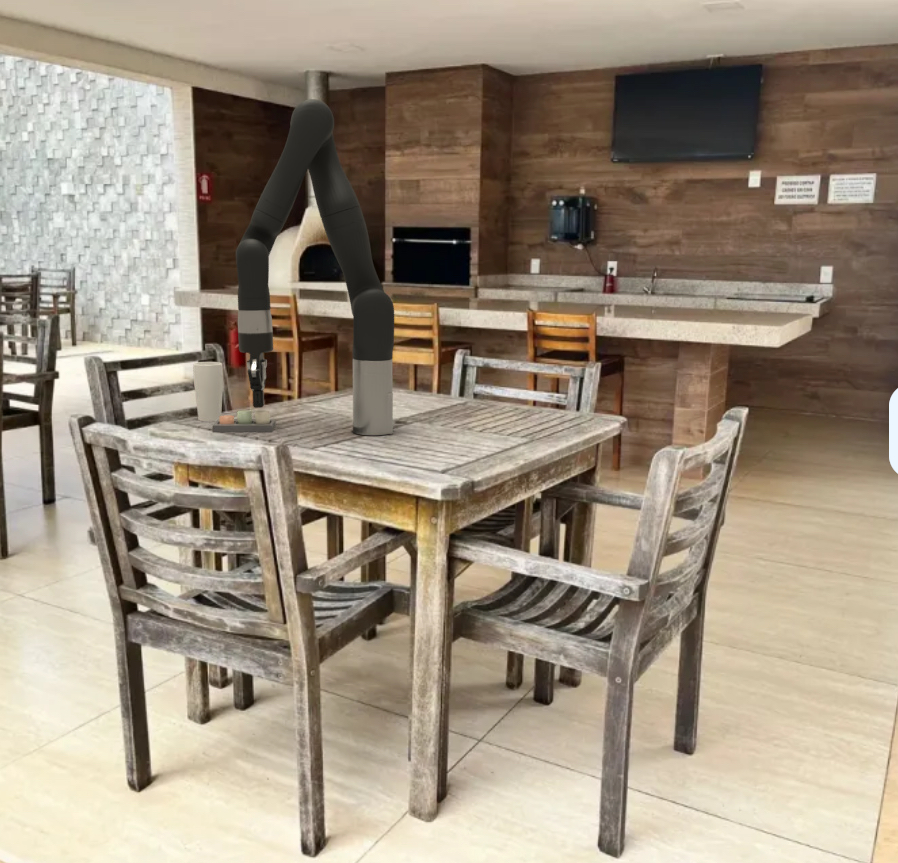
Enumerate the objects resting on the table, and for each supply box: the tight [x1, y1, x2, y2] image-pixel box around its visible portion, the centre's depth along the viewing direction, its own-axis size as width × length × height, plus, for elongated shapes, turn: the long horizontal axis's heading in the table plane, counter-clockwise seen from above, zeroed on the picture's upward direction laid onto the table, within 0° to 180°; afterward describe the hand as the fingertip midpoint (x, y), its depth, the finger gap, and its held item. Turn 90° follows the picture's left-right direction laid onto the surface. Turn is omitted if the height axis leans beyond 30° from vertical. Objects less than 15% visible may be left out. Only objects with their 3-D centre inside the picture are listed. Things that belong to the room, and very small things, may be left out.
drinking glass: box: [192, 361, 224, 422], centre depth 213 cm, size 7×7×15 cm
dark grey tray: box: [212, 418, 276, 433], centre depth 203 cm, size 13×8×3 cm, turn 95°
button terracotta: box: [219, 414, 235, 424], centre depth 203 cm, size 3×3×4 cm
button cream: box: [254, 409, 271, 424], centre depth 203 cm, size 3×3×4 cm
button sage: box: [236, 409, 253, 424], centre depth 203 cm, size 3×3×4 cm
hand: (258, 406), depth 203 cm, fingers closed
